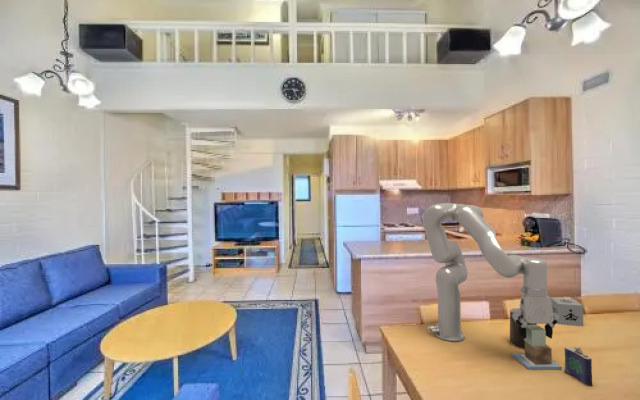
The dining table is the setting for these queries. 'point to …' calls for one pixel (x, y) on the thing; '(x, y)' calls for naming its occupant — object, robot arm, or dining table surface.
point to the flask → (578, 365)
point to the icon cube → (568, 311)
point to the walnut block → (538, 354)
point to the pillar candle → (516, 331)
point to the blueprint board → (530, 365)
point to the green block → (535, 335)
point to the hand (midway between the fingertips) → (535, 336)
